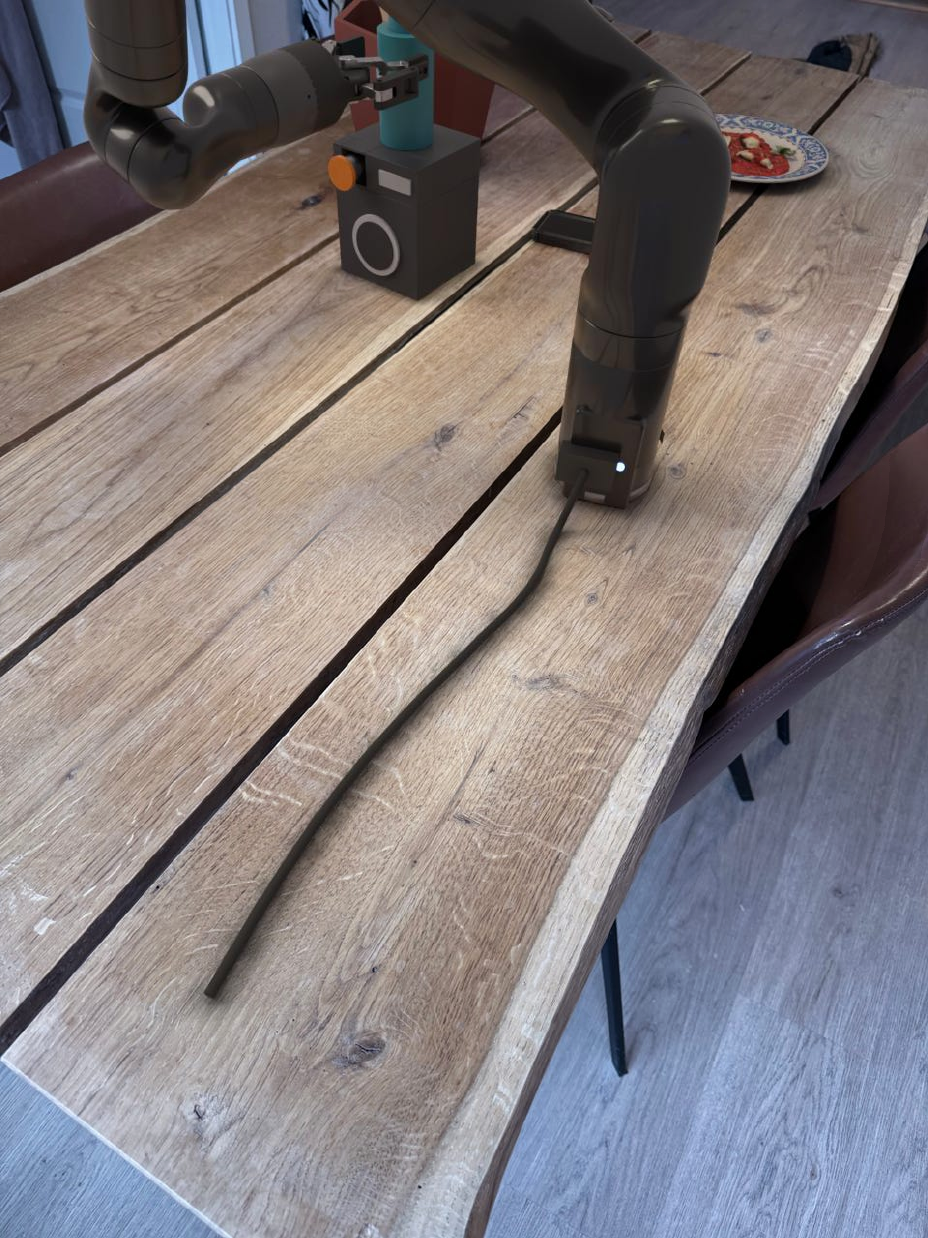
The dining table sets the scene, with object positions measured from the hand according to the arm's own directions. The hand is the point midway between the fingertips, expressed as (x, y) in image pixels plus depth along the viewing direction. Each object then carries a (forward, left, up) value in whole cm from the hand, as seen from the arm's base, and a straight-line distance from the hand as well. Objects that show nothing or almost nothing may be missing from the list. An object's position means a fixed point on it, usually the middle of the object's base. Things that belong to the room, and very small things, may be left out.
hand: (393, 55), depth 95 cm
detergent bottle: (+2, -1, -9) cm, 9 cm away
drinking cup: (+64, -10, -24) cm, 69 cm away
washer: (+2, -1, -24) cm, 24 cm away
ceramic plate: (+52, -38, -24) cm, 69 cm away
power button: (-3, +4, -13) cm, 14 cm away
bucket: (+34, +9, -24) cm, 43 cm away
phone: (+17, -21, -24) cm, 36 cm away
